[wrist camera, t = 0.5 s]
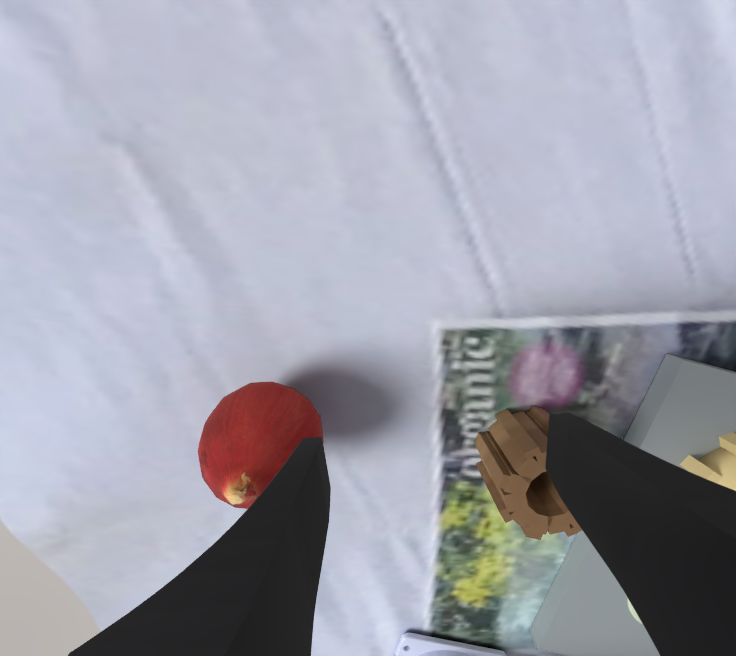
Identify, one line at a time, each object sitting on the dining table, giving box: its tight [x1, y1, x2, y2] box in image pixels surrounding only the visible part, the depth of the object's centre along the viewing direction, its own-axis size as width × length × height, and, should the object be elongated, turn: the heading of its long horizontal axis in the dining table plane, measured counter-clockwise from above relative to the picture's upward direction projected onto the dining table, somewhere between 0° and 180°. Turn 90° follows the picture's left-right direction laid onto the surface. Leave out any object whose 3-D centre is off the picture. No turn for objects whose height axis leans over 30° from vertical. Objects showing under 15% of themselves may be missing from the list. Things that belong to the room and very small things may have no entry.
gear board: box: [529, 354, 736, 656], centre depth 21 cm, size 22×14×4 cm, turn 165°
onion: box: [198, 382, 323, 509], centre depth 17 cm, size 6×6×8 cm
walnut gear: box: [475, 406, 582, 540], centre depth 20 cm, size 6×6×4 cm
